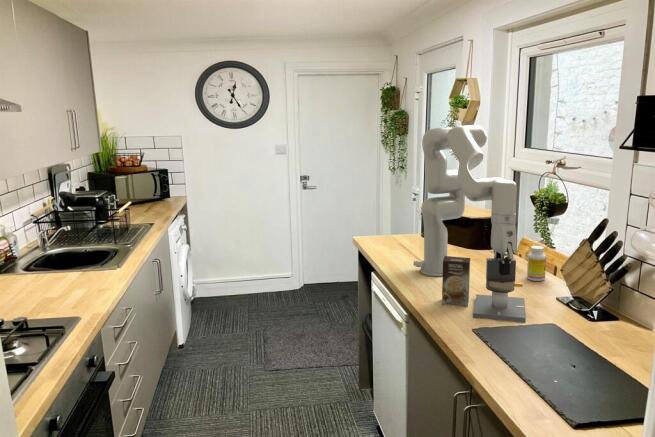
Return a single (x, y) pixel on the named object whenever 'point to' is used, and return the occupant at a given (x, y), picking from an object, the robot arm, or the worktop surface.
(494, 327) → the worktop surface
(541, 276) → the supplement bottle
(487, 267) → the rotary knob
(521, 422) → the worktop surface
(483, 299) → the post base
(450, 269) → the coffee box
